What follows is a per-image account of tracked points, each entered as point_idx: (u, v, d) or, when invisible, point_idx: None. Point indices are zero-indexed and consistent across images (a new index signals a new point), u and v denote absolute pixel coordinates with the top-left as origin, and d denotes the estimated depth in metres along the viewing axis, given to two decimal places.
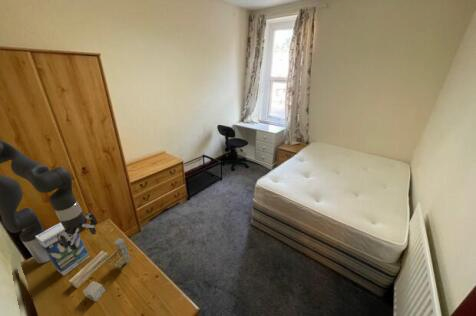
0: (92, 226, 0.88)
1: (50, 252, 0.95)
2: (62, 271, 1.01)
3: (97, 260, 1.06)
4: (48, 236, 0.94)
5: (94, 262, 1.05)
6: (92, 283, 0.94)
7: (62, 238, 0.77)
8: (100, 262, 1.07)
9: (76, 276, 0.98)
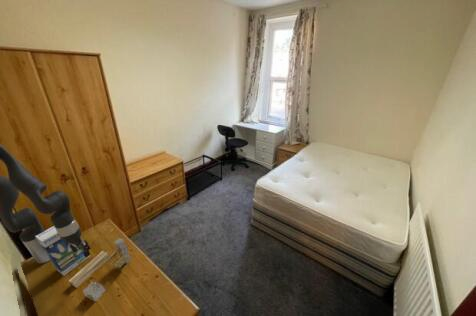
0: None
1: (50, 252, 0.95)
2: (62, 271, 1.01)
3: (97, 260, 1.06)
4: (48, 236, 0.94)
5: (94, 262, 1.05)
6: (92, 283, 0.94)
7: None
8: (100, 262, 1.07)
9: (76, 276, 0.98)
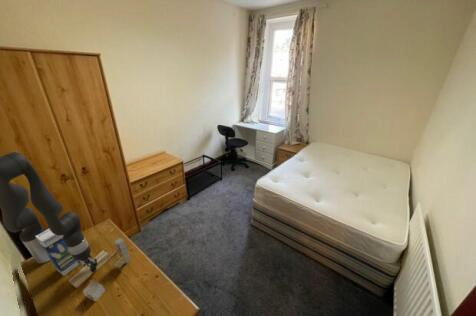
0: None
1: (50, 252, 0.95)
2: (62, 271, 1.01)
3: (97, 260, 1.06)
4: (48, 236, 0.94)
5: None
6: (92, 283, 0.94)
7: None
8: (100, 262, 1.07)
9: (76, 275, 0.98)
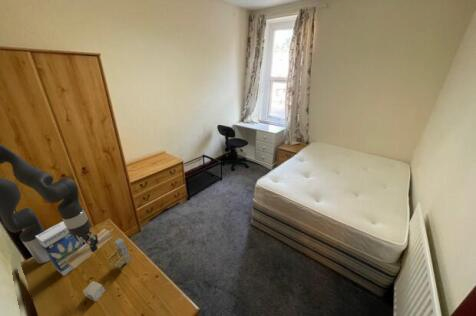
0: None
1: (50, 252, 0.95)
2: (62, 271, 1.01)
3: (98, 238, 0.93)
4: (48, 236, 0.94)
5: None
6: (92, 283, 0.94)
7: None
8: (102, 241, 0.93)
9: (73, 254, 0.85)
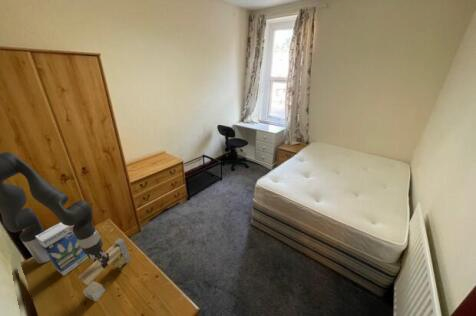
0: None
1: (50, 252, 0.95)
2: (62, 271, 1.01)
3: None
4: (48, 236, 0.94)
5: None
6: (92, 283, 0.94)
7: None
8: (112, 257, 0.98)
9: (86, 271, 0.89)
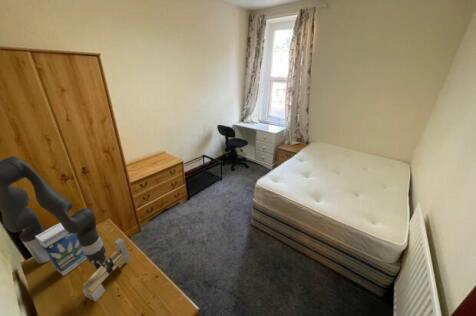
0: None
1: (50, 252, 0.95)
2: (62, 271, 1.01)
3: None
4: (48, 236, 0.94)
5: None
6: None
7: None
8: (115, 264, 1.00)
9: (90, 279, 0.92)
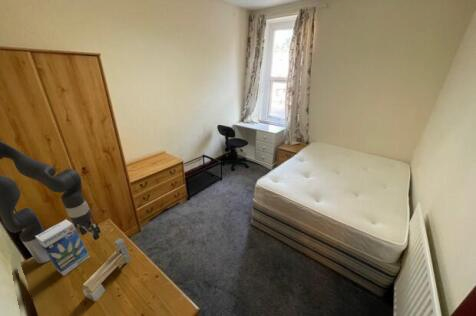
0: None
1: (50, 252, 0.95)
2: (62, 271, 1.01)
3: (112, 262, 0.99)
4: (48, 236, 0.94)
5: (109, 264, 0.98)
6: None
7: None
8: (115, 264, 1.00)
9: (90, 279, 0.92)
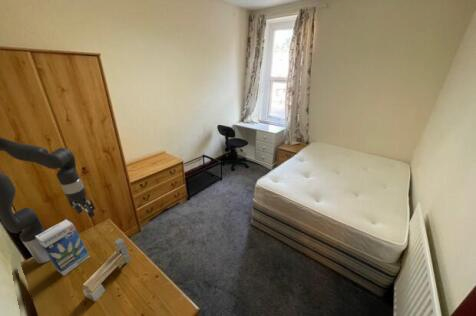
0: None
1: (50, 252, 0.95)
2: (62, 271, 1.01)
3: (112, 262, 0.99)
4: (48, 236, 0.94)
5: (109, 264, 0.98)
6: None
7: None
8: (115, 264, 1.00)
9: (90, 279, 0.92)
